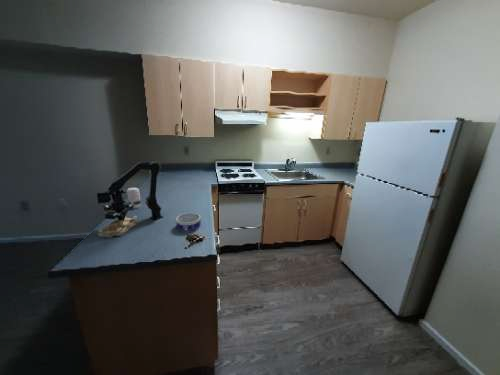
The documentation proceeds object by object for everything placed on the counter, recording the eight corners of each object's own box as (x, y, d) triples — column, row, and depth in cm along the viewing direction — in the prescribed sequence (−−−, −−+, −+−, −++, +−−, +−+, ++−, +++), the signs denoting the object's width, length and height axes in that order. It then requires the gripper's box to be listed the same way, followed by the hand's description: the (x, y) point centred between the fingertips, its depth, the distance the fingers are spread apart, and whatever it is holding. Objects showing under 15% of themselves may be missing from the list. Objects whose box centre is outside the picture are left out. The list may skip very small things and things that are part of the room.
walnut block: (117, 225, 137) (116, 219, 136) (123, 225, 137) (122, 220, 135) (110, 229, 131) (109, 224, 130) (116, 230, 131) (115, 224, 130)
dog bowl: (176, 232, 131) (175, 224, 130) (177, 221, 145) (176, 213, 144) (201, 230, 136) (201, 221, 134) (200, 219, 150) (199, 211, 148)
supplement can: (130, 205, 170) (127, 187, 165) (141, 204, 173) (139, 186, 168) (128, 209, 162) (125, 190, 158) (140, 208, 165) (138, 189, 161)
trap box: (126, 218, 148) (125, 214, 147) (142, 219, 147) (141, 215, 146) (98, 236, 125) (97, 231, 124) (117, 238, 124) (116, 233, 123)
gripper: (116, 194, 143) (120, 215, 148) (94, 205, 126) (99, 228, 130) (132, 195, 142) (135, 217, 147) (111, 206, 124) (115, 230, 129)
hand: (121, 222), depth 138 cm, fingers closed
